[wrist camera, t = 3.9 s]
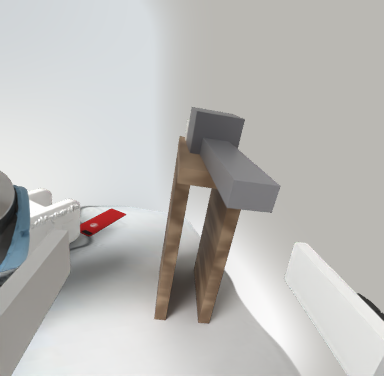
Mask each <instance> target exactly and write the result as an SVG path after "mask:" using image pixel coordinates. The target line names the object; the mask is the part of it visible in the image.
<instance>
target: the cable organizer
mask: <svg viewBox="0 0 384 376" xmlns="http://www.w3.org/2000/svg"><path fill="white" fill-rule="evenodd" d="M28 195H29V203H30V230H29V233H30V242H29V251H28V255H27V258H28V257H29V256H30V254H31V253H32V252H33V251H34V250H35V249H36V248H37V247H38V246H39V245H40V243H41V242H42V241H43V240H44V239H45V238H46V237H47V236H48V235H49V234H50V232H51V231H52V230H53V229H56V230H68V233H69V244H70V243H71V242H73V241H74V240H76V239H77V237H78V236H79V234H80V204H79V202H77V201H75V200H73V199H66V200H64V201H61V202H58V203H55V204H52V194H51V192H50V191H48V190H46V189H42V188H41V189H36V190H33V191H29V192H28ZM27 258H26V259H27ZM18 268H19V267H18Z"/></svg>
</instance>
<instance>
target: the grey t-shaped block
mask: <svg viewBox="0 0 384 376" xmlns="http://www.w3.org/2000/svg"><path fill="white" fill-rule="evenodd" d="M244 121H245V120H244V119H243V118H240V117H238V116H236V115H233V114H229V113H223V112H218V111H212V110H206V109H200V108H195V107H192V109H191V115H190V121H189V127H188V133H187V139H186V144H187V147H188V150H189V152H190V153H193V154H200V156H201V158H202V160H203V162H204V164H205V166H206V168H207V170H208V172H209V174H210V175H211V177H212V179H213V181H214V183H215V185H216V187H217V189H218V191H219V193H220V195H221V197H222V199H223V201H224V203H225V205H226V207H227V208H233V209H242V210H252V211H260V212H270V213H272V210H273V207H274V204H275V201H276V198H277V195H278V192H279V189H280V185H279V184H277V183H276V182H275V181H274V180H273V179H272V178H271V177H269V176H268V175H267V174H266V173H265V172H264V171H262V170H261V169H260V168H259V167H258V166H257V165H255V164H254V163H253V162H252V161H251V160H250V159H249V158H247V157H246V156H245V155H244V154H243V153H242V152H240V151H239V150H238V145H239V141H240V137H241V133H242V129H243V125H244Z"/></svg>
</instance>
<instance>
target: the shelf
mask: <svg viewBox="0 0 384 376" xmlns="http://www.w3.org/2000/svg"><path fill="white" fill-rule="evenodd" d="M190 185H194V186H200V187H208V188H212V190H211V194H210V199H209V203H208V208H207V213H206V217H205V222H204V226H203V231H202V235H201V240H200V244H199V249H198V253H197V258H196V262H195V267H194V275H195V288H196V300H197V313H198V323H209V322H210V318H211V314H212V311H213V307H214V304H215V300H216V297H217V293H218V289H219V286H220V282H221V279H222V275H223V272H224V268H225V264H226V261H227V257H228V253H229V250H230V246H231V243H232V239H233V236H234V232H235V228H236V225H237V221H238V218H239V214H240V211H241V209H233V208H227V207H226V205H225V203H224V201H223V199H222V197H221V195H220V193H219V191H218V189H217V187H216V185H215V183H214V181H213V179H212V177H211V175H210V174H209V172H208V170H207V168H206V166H205V164H204V162H203V160H202V158H201V156H200V154H193V153H190V152H189V150H188V147H187V144H186V141H185V137H182V136H180V138H179V144H178V153H177V159H176V166H175V173H174V179H173V186H172V192H171V199H170V206H169V212H168V218H167V225H166V231H165V238H164V244H163V251H162V257H161V264H160V272H159V282H158V291H157V300H156V309H155V318H154V319H159V320H166V315H167V309H168V304H169V298H170V293H171V287H172V282H173V276H174V271H175V265H176V260H177V254H178V249H179V243H180V238H181V233H182V227H183V222H184V216H185V211H186V205H187V200H188V194H189V189H190Z"/></svg>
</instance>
